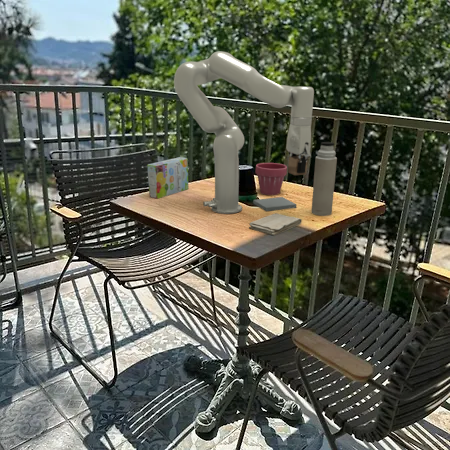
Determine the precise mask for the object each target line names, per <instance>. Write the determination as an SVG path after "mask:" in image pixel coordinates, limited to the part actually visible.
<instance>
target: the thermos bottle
mask: <svg viewBox="0 0 450 450" xmlns="http://www.w3.org/2000/svg"><path fill="white" fill-rule="evenodd" d="M334 146H335V142H331V141H324V142H323V141H321V143H320V149H319V150H318V151H317V156H315V159H314V160H315V162H314V173H313V174H314V175H313V188H312V199H311V214H313V215H315V216H321V217H322V216H323V217H325V216H331V215H332V213H333V202H334V194H335V191H334V190H335V184H336V183H335V182H336V174H337V172H336V171H337V163H338V162H337V160H338V158H337V157H336V154H337V153H336V151H335V150H334V148H335V147H334Z"/></svg>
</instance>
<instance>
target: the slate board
mask: <svg viewBox="0 0 450 450" xmlns="http://www.w3.org/2000/svg"><path fill="white" fill-rule="evenodd" d="M252 203H253V204H254V205H255V206H256V207H258V208H260V209H262V210H263V211H264V212H272V211H273V212H274V211H283V210H289V209H297V203H296V202H292V201H291V200H289V199H287V198H285V197H283V196H277V197H269V198H260V199H253V202H252Z"/></svg>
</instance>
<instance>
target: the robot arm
mask: <svg viewBox="0 0 450 450" xmlns="http://www.w3.org/2000/svg"><path fill="white" fill-rule="evenodd" d="M173 79H174V80H173V85H174V89H175V93H176V94H177V96H178V98H179V100H180V101H181V102H182V103H183V104H184V106H185V107H186V109H187V110H188V112H189V113H190V114H191V116H192V117H193V119H194V120H195V121H196V123H197V124H198V125H199V127H200V129H202V131H204V132H206V133H209V134H212V133H214V135H215V138H214V140H213V144H212V147H213V155H214V156H213V157H214V197H212V199H211V200H210V201H208V200H207V201H203V207H209V208H210V210H211V211H212V212H214V213H218V214H224V215H225V214H228V215H230V214H236V213H240V212H242V210H243V206H242V205H241V204H239V195H240V194H239V187H240V186H239V185H240V183H239V182H240V164H239V163H240V161H239V159H240V158H239V150H241V149H243V147H244V144H245V136H244V134H243V131H242V130H241V128H240V127H239V126H238V125H237V124H236V122H235V121H234V120H233V117H232V116H231V115H230V114H229V113H228V112H227V111H226V110H225V109H224V108H223V107H221V106H218V105H217V106H216V105H213V104H212V102H211V101H210V100H209V99H208V97H207V96H206V94H205V93H204V92H203V91H202V90H201V89H200V88H199V86H201V85H205V84H207V83H210V82H213V81H217V80H220V79H222V80H224V81H227V82H228V83H230V84H232V85H234V86H235V87H238V89H241V90H243V91H244V92H245V93H248V94H250V95H251V96H252V97H254V98H256V99H258V101H259V100H260V101H261V102H264V103H265V104H267V105H269V106H271V107H272V108H277V109H282V108H284V107H288V106H289V107H291V109H290V124H289V126H288V127H289V128H288V131H287V139H286V149H285V150H286V151H287V152H288V154H289V156H288V158H289V157H293V156H299V162H298V167H297V173H305V169H306V162H307V163H308V159H309V158H311V156H312V155H311V147H312V146H311V145H312V121H313V107H314V97H315V95H314V94H315V90H314V88H313V87H312V86H302V85H301V86H299V85H298V86H291V85H286V84H282V85H280V84H278V83H276V82H275V81H273V80H271V79H268V78H267V77H265V76H264V75H263V74H260V73H259V72H258V71H257V69H256V68H255V67H253V66H251V65H250V64H247V63H246V62H243V61H242V60H240V59H237V58H236V57H234V55H232V54H231V53H230V52H227V51H222V50H221V51H215V52H213V53H212V54H211V55H210V56H209V58H206V59H202V60H199V61H186V62H183V63H181V64H180V65H179V66H178V67H177V69H176V71H175V73H174V78H173Z"/></svg>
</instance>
